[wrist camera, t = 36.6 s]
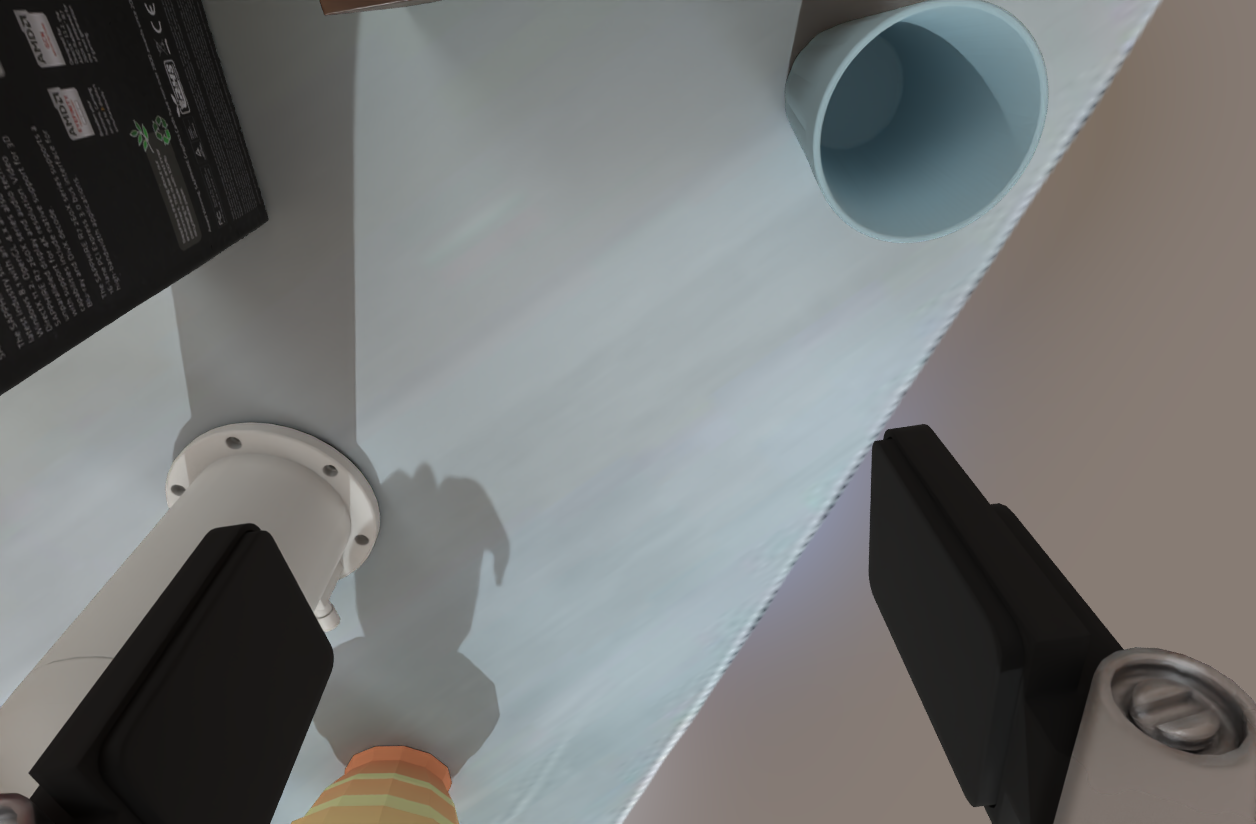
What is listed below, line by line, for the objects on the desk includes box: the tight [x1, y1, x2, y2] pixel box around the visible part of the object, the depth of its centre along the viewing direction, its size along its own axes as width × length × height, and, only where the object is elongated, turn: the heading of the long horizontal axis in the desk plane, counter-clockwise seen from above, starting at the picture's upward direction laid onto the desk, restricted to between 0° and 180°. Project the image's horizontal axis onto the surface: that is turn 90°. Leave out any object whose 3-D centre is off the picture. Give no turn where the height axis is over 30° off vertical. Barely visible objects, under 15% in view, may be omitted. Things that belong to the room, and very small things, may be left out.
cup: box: [785, 0, 1048, 243], centre depth 28 cm, size 8×8×10 cm
